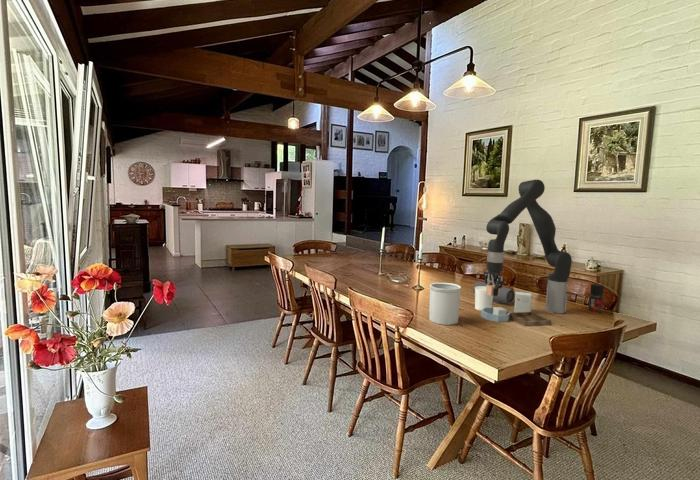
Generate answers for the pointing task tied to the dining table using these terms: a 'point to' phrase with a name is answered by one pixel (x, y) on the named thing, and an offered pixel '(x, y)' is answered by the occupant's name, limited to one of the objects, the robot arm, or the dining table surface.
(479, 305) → the candle holder
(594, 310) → the deodorant
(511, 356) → the dining table surface
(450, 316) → the utensil holder
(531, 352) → the dining table surface
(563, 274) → the robot arm
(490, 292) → the tan cube
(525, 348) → the dining table surface
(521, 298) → the small box
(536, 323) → the walnut tray
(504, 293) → the bluetooth speaker
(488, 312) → the ceramic bowl
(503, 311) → the off-white cube
